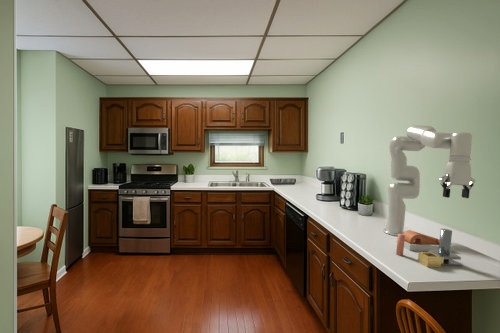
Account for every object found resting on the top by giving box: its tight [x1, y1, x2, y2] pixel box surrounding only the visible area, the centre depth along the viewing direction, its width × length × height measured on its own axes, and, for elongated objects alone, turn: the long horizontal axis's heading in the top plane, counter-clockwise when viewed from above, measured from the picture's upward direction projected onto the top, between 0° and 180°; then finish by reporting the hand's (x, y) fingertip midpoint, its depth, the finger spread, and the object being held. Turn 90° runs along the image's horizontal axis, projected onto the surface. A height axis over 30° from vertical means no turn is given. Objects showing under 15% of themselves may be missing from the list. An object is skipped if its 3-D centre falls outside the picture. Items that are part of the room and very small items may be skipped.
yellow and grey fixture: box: [417, 228, 463, 268], centre depth 130 cm, size 12×18×15 cm
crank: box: [403, 229, 440, 245], centre depth 151 cm, size 20×8×8 cm, turn 91°
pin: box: [395, 234, 405, 257], centre depth 137 cm, size 3×3×10 cm
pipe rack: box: [396, 237, 454, 253], centre depth 151 cm, size 12×24×3 cm, turn 94°
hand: (455, 197), depth 128 cm, fingers open, 9 cm apart
